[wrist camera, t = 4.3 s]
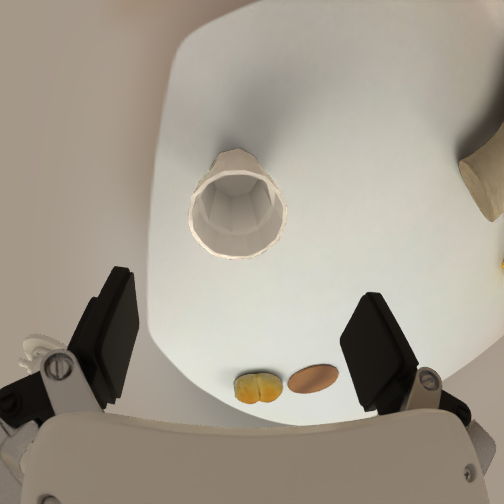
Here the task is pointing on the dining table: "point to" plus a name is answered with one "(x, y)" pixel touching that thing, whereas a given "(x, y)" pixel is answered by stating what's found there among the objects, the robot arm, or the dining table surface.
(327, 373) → the coaster
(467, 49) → the dining table surface
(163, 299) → the dining table surface
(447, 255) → the dining table surface
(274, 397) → the bread roll
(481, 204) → the vase
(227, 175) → the cup
